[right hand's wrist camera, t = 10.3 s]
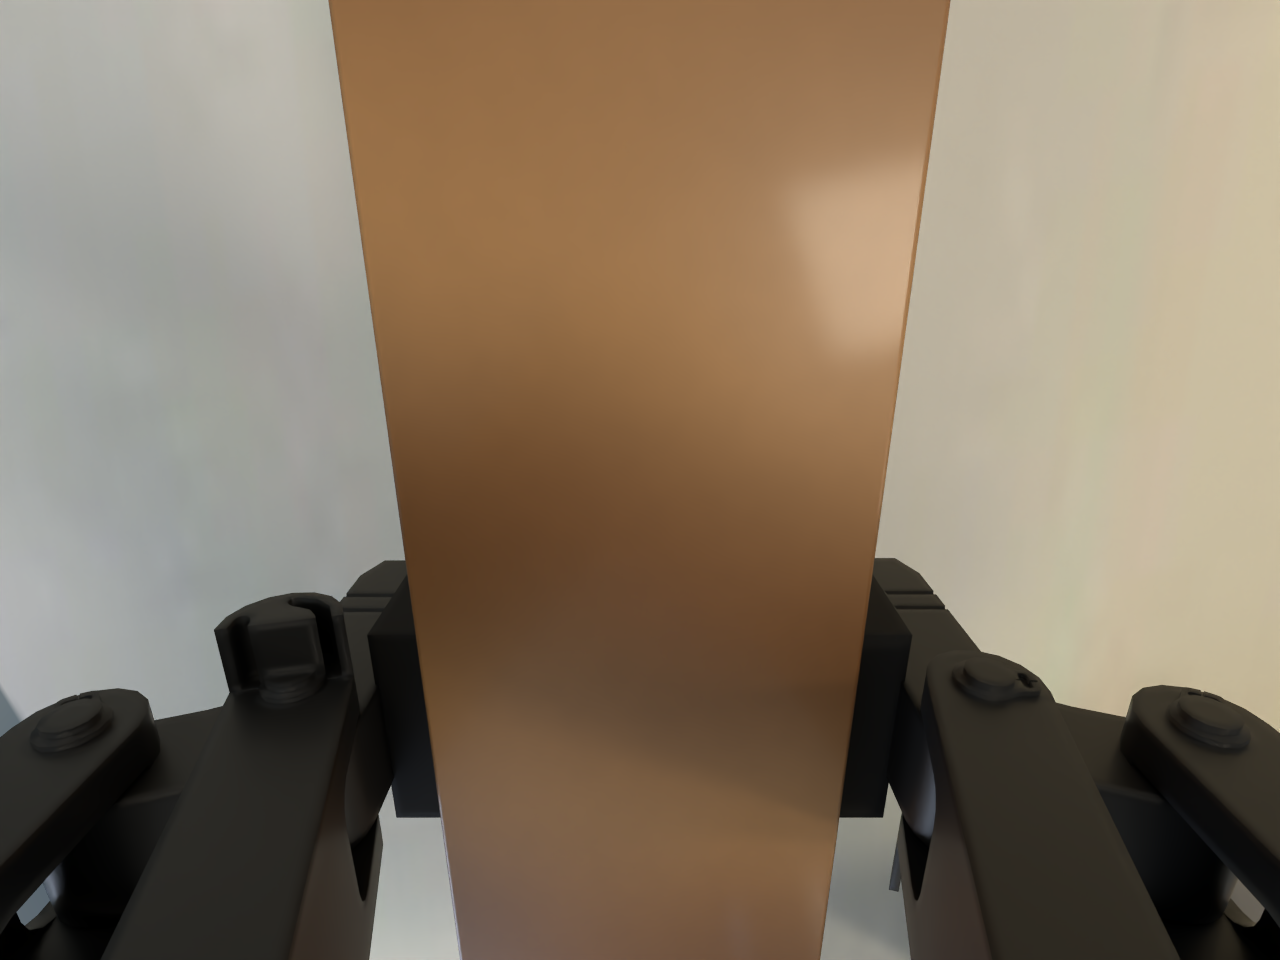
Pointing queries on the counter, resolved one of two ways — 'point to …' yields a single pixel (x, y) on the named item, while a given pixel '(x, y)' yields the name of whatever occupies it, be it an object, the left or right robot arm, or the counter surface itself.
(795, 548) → the beam
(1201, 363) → the counter surface
